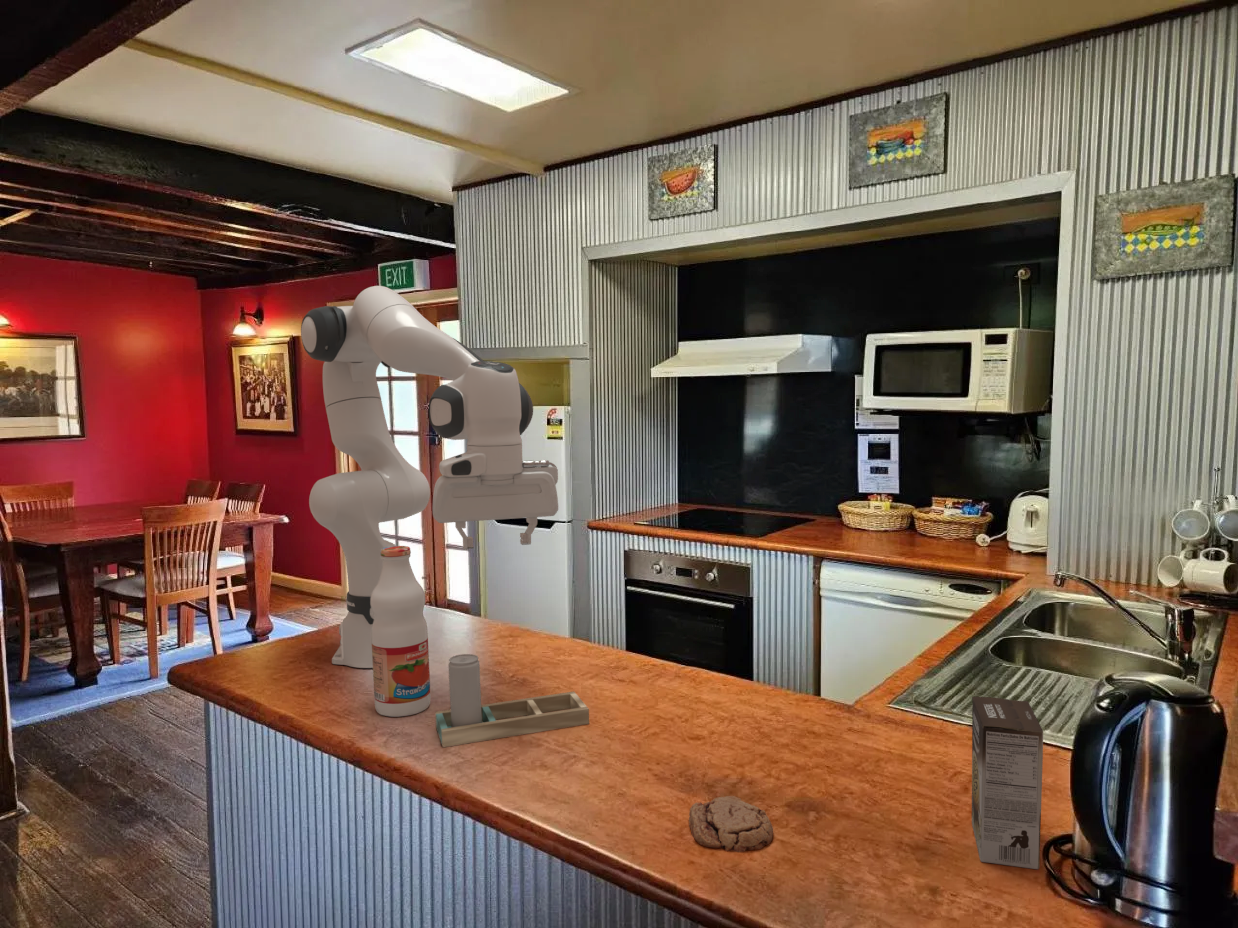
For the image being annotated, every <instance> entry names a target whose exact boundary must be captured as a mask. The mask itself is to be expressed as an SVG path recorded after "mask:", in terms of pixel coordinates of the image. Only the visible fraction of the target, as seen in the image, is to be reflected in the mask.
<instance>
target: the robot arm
mask: <svg viewBox="0 0 1238 928" xmlns="http://www.w3.org/2000/svg"><path fill="white" fill-rule="evenodd" d="M300 337H301V342H302V347H303V349H304V351H305V352H306V353H307V355H308V356H309V357H310V358H311V359H313V360H317V361H319V362H323V365H322V389H323V400H324V405H325V406H324V407H325V413H326V415H327V421H328V425H329V426H328V427H329V431H330V436H331V441H332V443H333V446H334V447H335V449H337V450H338V451H339V452H341V453H343V454H345V455H348V456H349V457H350V458H352V459H353V460H354V461H355V462H356V464H358V467H360V470H355V471H354V470H353V471H344V472H338V473H335V474H332V475H329V476H326V477H323V478H320V479H318V480H317V481H316V482H315V483H314V484H313V486H312V488H311V490H310V494H309V496H308V497H309V499H308V504H309V505H308V506H309V510H310V513H311V514H312V516H313V519H314V520H315V521H316V522H317V523H318V524H319V525H320V526H322V527H324V528H325V529H327V530H328V531H329V532H331V533H332V534H333V536H334V537H335V538H336V540H337V541H338V544H339V545H340V547H341V549H342V552H343V553H344V558H345V565H346V572H347V573H346V574H347V583H348V584H347V585H348V591H347V593H346V601H345V603H346V610H347V611H348V613H347V615H346V616H345V617H344V618H343V619H342V621H341V622H340V624H339V627H338V632H339V633H338V634H339V635H340V640H339V646H338V648H337V650H336V651H335V653H334V655H333V656H332V658H331V664H333V665H342V666H343V665H344V666H348V667H351V668H358V669H359V668H360V669H373V661H372V643H371V629H372V624H373V622H374V615H373V612H372V609H371V605H370V599H371V594H372V592H373V590H374V588H375V587H376V585H377V584H378V582H379V579H380V575H381V571H382V567H383V559H382V558H381V549H383V548H385V547H391V546H397V544H395V543H393V542H391V541H389V540H386V539H384V537H383V536H382V534H381V531H380V530H381V529H380V524H381V523H387V522H391V521H392V522H393V521H397V520H398V521H399V520H405V519H407V518H408V517H409V518H410V517H412V516H415V515H416V514H419V513H422V512H423V511H424V510H425V509H426V508H427V507H428V504H429V502H430V498H431V488H430V483H429V481H428V479H427V477H426V475H425V473H423V472H422V471H421V470H419V469H417V468H416V467H414V466H413V465H411V464H410V463H409V462H408V461H407V460H406V458H404V456H403V455H402V453H400V451H399V449H398V448H397V447H396V444H394V441H393V439H392V437H391V434H390V431H389V427H388V423H387V420H386V415H385V412H384V407H383V401H382V397H381V392H380V388H379V384H378V381H377V370H378V367H379V365H380V364H382V366H384V367H385V368H392V369H394V370H395V371H399V372H402V373H409V374H417V375H418V374H419V375H428V376H435V377H440V378H445V379H448V380H451V381H450V382H448V383H446V384H440V385H439V386H438V387H437V388H436V389H434V391H433V393H432V395H431V397H430V399H429V401H428V420H429V422H430V425H431V427H432V429H433V430H434V432H435V433H437V435H438V436H439V437H441V438H442V439H444V440H445V439H448V440H451V441H454V440H455V441H458V440H460V441H461V440H467V443H466V451H465V452H463V453H460V454H457V455H454V456H452V457H449V458H446V459H443V460H441V461H440V462H439V465H438V466H439V467H438V469H439V472H440V474H441V475H440V476H439V477H438V478H437V479H436V481H435V483H434V488H433V495H432V517H433V519H434V520H435V522H437V523H438V524H447V523H451V524H452V523H455V529H456V530H457V532H458V533H459V535H460V536H461V538H462V548H463V550H471V549H474V537H473V536H468V535H467V534H466V532H465V531H464V530H463V529H466V528H467V522H480V521H497V520H510V519H512V520H513V519H514V520H515V519H525V520H526V523H528V525H527V527H526V530H525V532H520V533H519V536H520V537H519V538H520V540H519V542H520V545H522V546H525V545H526V546H528V545H531V544H532V534H533V532H534V531H535V529H536V528H537V525H538V518H541V517H542V518H543V517H545V518H546V517H554V516H555V515H556V514H557V513H558V512H559V500H558V492H557V486H556V485H557V483H558V480H559V471H558V470H559V469H558V467H557V466H556V465H555V464H554V463H553V462H550V460H547V459H546V460H545V459H541V460H523V440H522V437H521V436H522V435H523V433H524V432H525V431H526V430H527V429H528V427H529V425H530V423H531V421H532V419H533V415H534V404H533V401H532V399H531V396H530V394H529V393H528V391H527V390H526V388H525V387H524V386H523V385H522V384H521V383H520V382H519V378H518V373H517V371H516V368H514V367H513V365H512V366H511V364H509V363H505V362H504V363H503V362H499V361H490V360H489V361H488V360H483V359H482V358H481V357H480V356H479V355H477V353H475V352H473V350H471V349H470V348H469V347H467V346H466V345H465V344H463V343H462V342H461V341H459V340H457V339H456V338H454V337H453V336H450V335H449V334H447V333H446V332H444V331H443V330H441V329H440V328H438V327H437V326H435V325H434V323H431V322H430V321H429V320H428V319H427V318H425V317H424V316H423V315H422V314H421V313H420V312H419V311H418V310H417V309H416V308H415V307H414V305H413V304H411V303H410V302H409V301H408V300H407V299H406V298H404V297H403V296H402V295H401V294H399V293H398V292H396V291H394V290H393V289H391V288H389V287H386V286H384V285H374V286H369V287H367V288H365V289H363V290H362V291H360V293H359V294H358V295H357V296H356V297H355V299H354V302H353V305H341V306H336V305H332V306H330V305H324V306H319V307H316V308H313V309H310V310H308V312H306V314H305V315H304V317H302V321H301V325H300Z"/></svg>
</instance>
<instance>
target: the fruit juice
mask: <svg viewBox="0 0 1238 928" xmlns="http://www.w3.org/2000/svg"><path fill="white" fill-rule="evenodd" d="M411 553H412V552H411V548H410V546H406V545H396V546H391V547H385V548H383V549H381V558H382V559H383V567H382V571H381V575H380V579H379V582H378V584H377V585H376V587H375V588H374V590H373V592H372V594H371V599H370V605H371V609H372V612H373V615H374V622H373V624H372V629H371V643H372V661H373V668H372V677H373V695H374V696H373V697H374V698H373V699H374V707H375V710H376V713H378V714H379V715H381V716H384V717H385V716H386V717H392V718H393V717H395V718H397V717H399V718H400V717H407V716H412V715H415V714H416V715H417V714H419V713H421V712H423V711H425V710H426V709H428V707H429V706H430V704H431V699H432V698H431V678H430V658H429V657H430V654H429V633H428V624H427V620H426V618H425V616H424V608H425V605H426V595H425V590H424V588H423V587H422V585H421V583H419V581H418V580H417V579H416V576H415V574H414V571H413V569H412V566H411V564H410V563H411V562H410V557H411Z"/></svg>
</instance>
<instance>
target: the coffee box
mask: <svg viewBox="0 0 1238 928" xmlns="http://www.w3.org/2000/svg"><path fill="white" fill-rule="evenodd" d="M971 700H972V707H971V709H972V712H971V714H972V715H971V716H972V717H971V719H972V723H971V726H972V727H971V729H972V730H971V731H972V732H971V736H972V737H971V742H972V743H971V747H972V749H971V826H972V831H973V835H974V838H975V844H976V848H977V852H978V858H979V861H980V862H982V863H988V864H994V865H1002V866H1003V865H1004V866H1010V867H1017V868H1023V869H1024V868H1025V869H1033V870H1039V869H1040V862H1041V861H1040V860H1041V857H1040V856H1041V854H1040V853H1041V852H1040V851H1041V829H1042V828H1041V826H1042V825H1041V823H1042V822H1041V821H1042V820H1041V819H1042V799H1043V798H1042V797H1043V796H1042V795H1043V794H1042V792H1043V790H1042V789H1043V764H1044V763H1043V762H1044V761H1043V760H1044V730H1043V728H1042V726H1041V724H1040V722H1039V720H1038V718H1037V716H1036V714H1035V712H1034V710H1033V708H1032V706H1031V705H1030V702H1029V700H1028V701H1027V700H1013V699H1012V700H1011V699H1008V698H1007V699H1006V698H1001V697H988V696H986V697H985V696H972V697H971Z"/></svg>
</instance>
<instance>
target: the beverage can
mask: <svg viewBox="0 0 1238 928" xmlns="http://www.w3.org/2000/svg"><path fill="white" fill-rule="evenodd" d="M448 661H449V662H448V681H449V682H448V685H449V686H448V687H449V702H450V703H449V704H450V710H451V728H452V727H458V726H465V725H471V724H478V723H482V716H481V705H482V698H481V697H482V695H481V691H482V689H481V671H480V660H479V657H478V655H476V654H471V653H462V654H457V655H453V656H451V657H449V659H448Z"/></svg>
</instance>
